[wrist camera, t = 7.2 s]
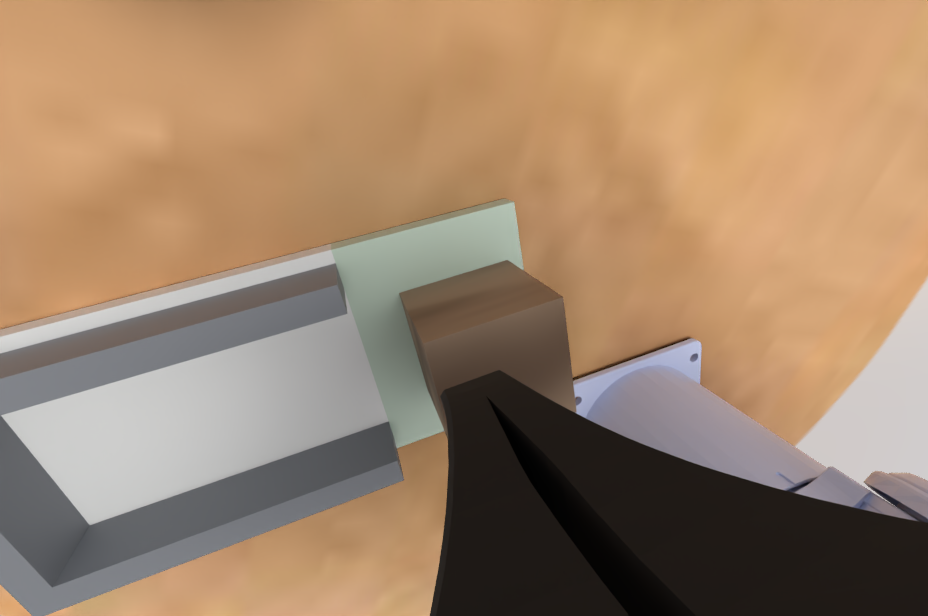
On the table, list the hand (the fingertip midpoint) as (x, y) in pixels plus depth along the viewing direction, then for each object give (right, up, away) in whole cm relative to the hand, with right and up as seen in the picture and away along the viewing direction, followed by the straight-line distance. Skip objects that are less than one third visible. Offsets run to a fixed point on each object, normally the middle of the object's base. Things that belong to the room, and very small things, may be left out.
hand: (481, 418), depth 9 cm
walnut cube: (0, +2, +9) cm, 9 cm away
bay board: (-7, 0, +8) cm, 11 cm away
